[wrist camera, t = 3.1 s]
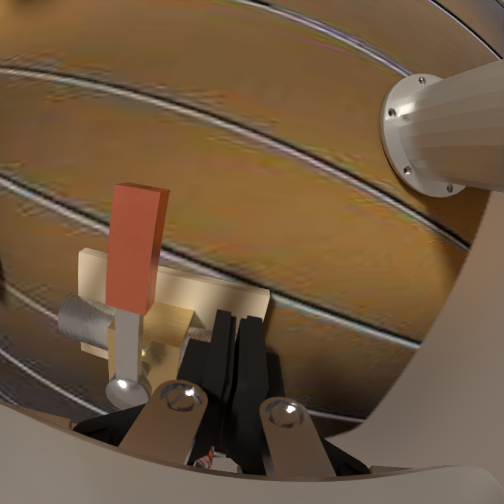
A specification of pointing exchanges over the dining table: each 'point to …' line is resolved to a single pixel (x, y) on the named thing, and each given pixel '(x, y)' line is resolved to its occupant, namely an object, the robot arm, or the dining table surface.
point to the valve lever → (132, 283)
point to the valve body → (154, 334)
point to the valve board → (177, 293)
